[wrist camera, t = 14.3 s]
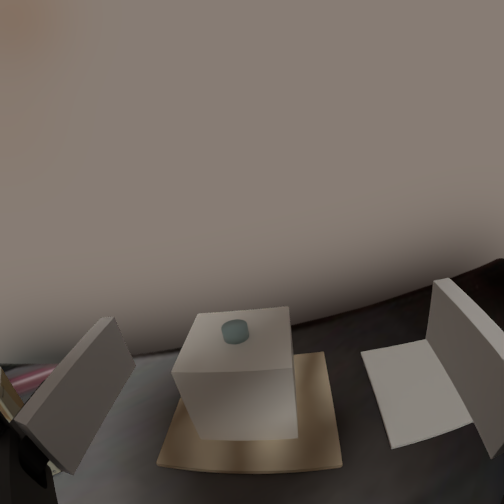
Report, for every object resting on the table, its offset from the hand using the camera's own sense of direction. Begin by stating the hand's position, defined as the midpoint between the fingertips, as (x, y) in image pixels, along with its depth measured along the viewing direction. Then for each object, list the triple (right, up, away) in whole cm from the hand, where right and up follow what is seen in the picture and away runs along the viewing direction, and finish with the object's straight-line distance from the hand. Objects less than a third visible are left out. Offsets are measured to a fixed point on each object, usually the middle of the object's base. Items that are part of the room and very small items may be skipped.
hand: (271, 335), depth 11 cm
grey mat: (+21, -12, +17) cm, 29 cm away
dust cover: (-1, -14, +19) cm, 24 cm away
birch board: (-1, -15, +19) cm, 24 cm away
